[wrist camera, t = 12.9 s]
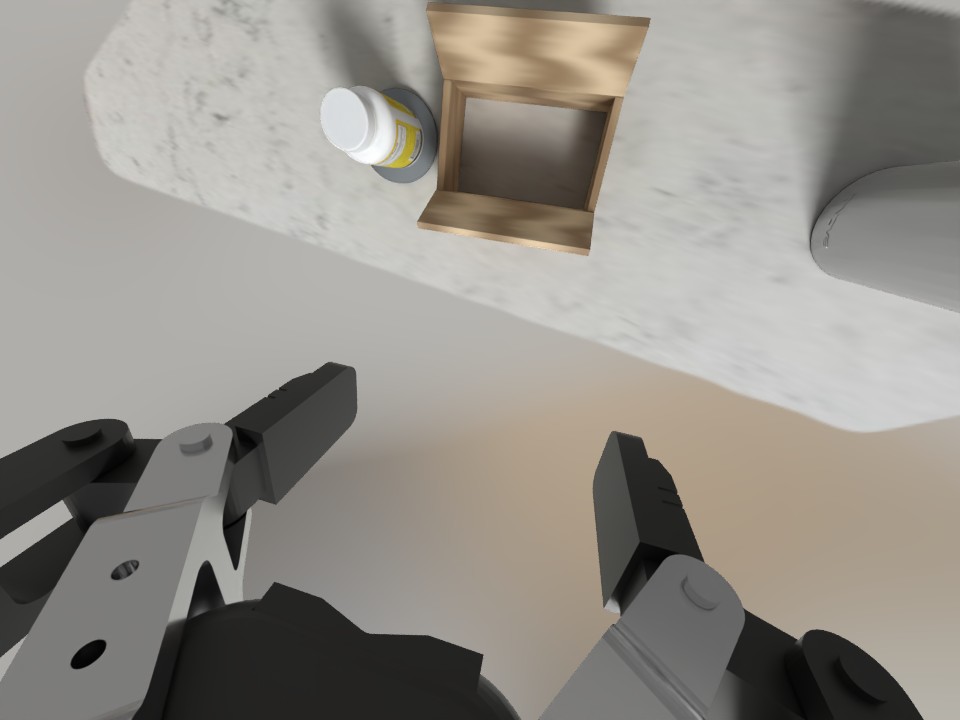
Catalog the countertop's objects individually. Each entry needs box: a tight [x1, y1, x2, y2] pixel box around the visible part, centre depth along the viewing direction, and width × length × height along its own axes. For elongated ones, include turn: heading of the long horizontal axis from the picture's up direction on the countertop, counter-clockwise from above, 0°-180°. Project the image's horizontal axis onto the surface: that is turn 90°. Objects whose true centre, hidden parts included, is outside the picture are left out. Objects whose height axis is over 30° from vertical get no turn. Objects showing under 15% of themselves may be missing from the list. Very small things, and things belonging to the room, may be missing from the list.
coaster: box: [371, 88, 438, 183], centre depth 34 cm, size 8×8×1 cm
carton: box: [417, 2, 650, 256], centre depth 29 cm, size 14×14×10 cm
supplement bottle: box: [320, 86, 424, 168], centre depth 30 cm, size 5×5×10 cm
